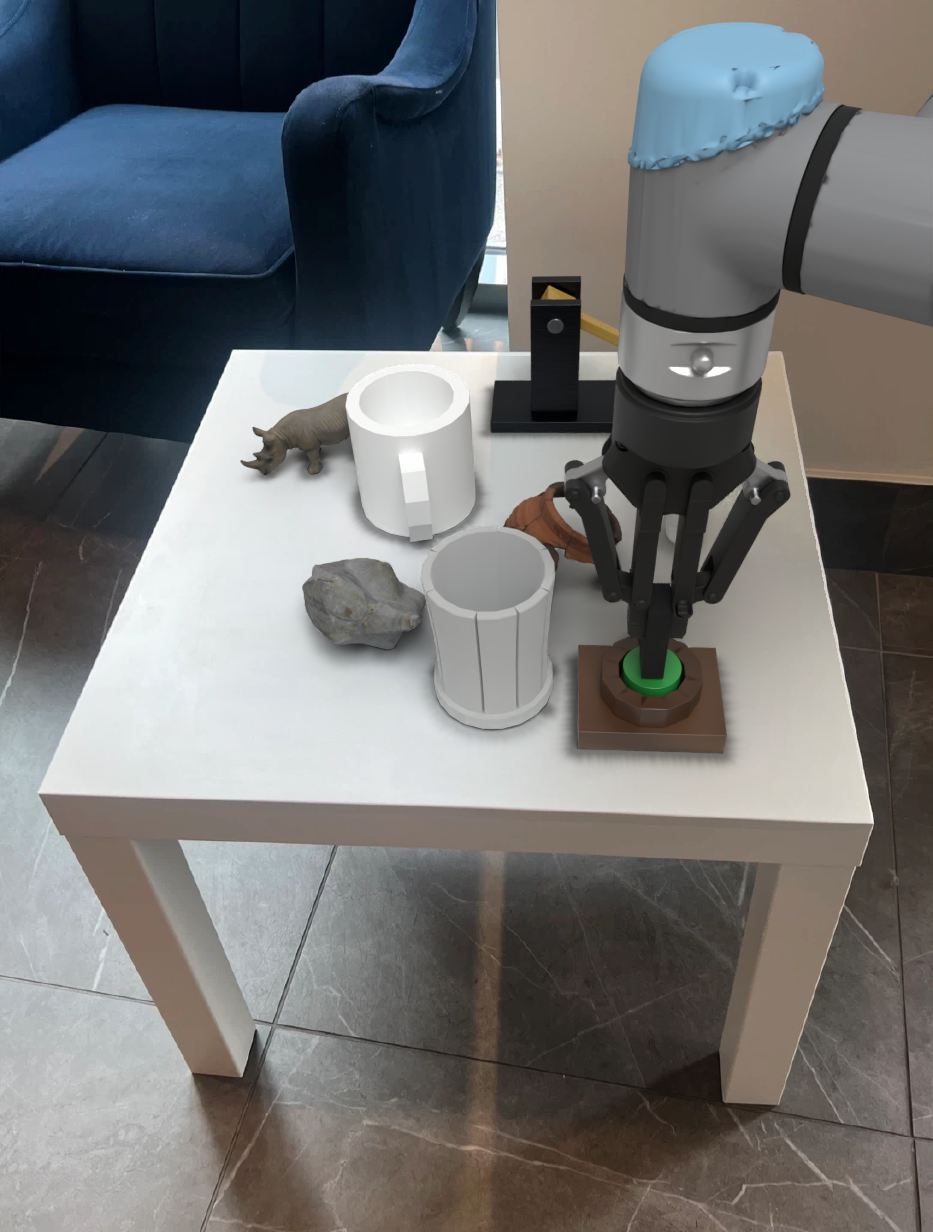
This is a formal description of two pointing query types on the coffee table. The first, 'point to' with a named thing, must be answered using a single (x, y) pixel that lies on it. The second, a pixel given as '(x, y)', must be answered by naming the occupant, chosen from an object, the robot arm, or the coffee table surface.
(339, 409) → the rhino figurine
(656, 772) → the coffee table surface
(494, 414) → the switch bracket
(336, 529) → the coffee table surface
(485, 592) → the cup
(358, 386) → the mug
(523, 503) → the broken clay pot
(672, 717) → the button block
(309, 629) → the coffee table surface
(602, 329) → the switch lever
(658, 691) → the light button
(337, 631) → the fossil
